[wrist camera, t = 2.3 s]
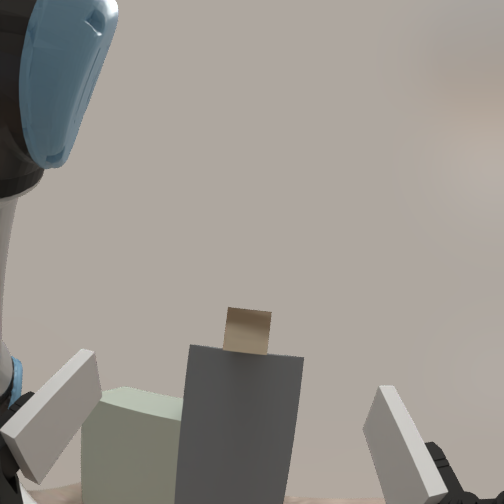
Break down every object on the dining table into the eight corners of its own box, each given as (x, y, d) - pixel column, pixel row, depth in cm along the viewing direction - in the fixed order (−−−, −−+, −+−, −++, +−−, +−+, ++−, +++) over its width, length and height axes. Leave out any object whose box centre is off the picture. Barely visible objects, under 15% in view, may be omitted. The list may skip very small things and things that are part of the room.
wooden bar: (266, 355, 28) (271, 312, 29) (222, 350, 28) (228, 307, 29) (260, 352, 51) (262, 329, 52) (235, 350, 51) (238, 326, 52)
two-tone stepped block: (273, 552, 28) (303, 357, 37) (83, 510, 29) (91, 325, 38) (268, 506, 43) (289, 355, 52) (120, 479, 44) (132, 333, 53)
